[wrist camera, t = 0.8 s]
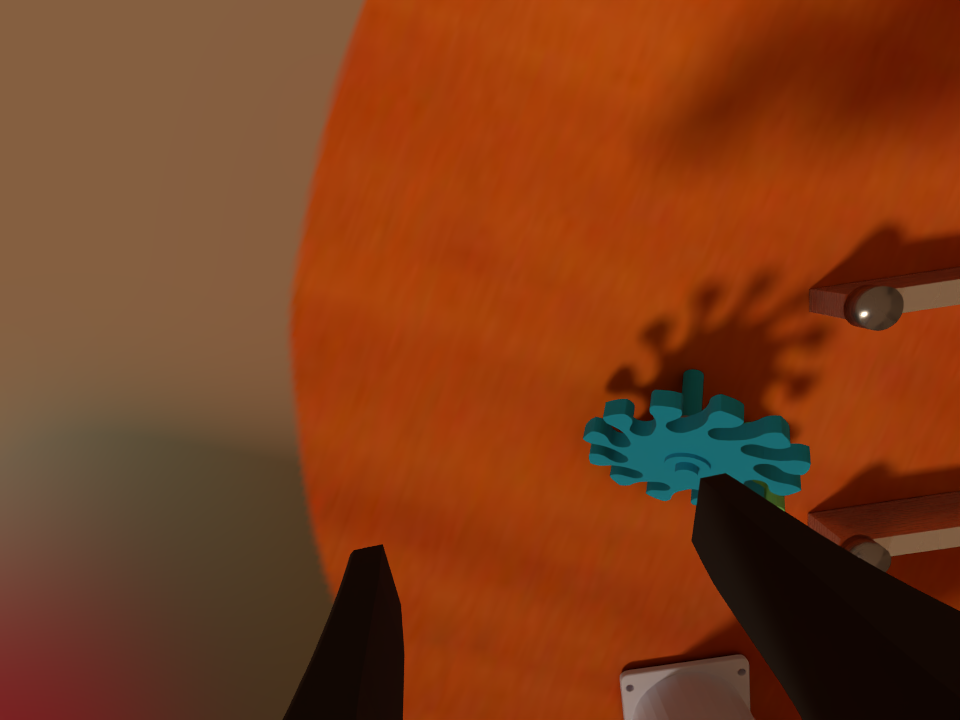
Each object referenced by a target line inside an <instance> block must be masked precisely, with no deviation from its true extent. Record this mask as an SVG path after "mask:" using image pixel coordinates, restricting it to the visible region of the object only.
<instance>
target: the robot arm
mask: <svg viewBox="0 0 960 720" xmlns="http://www.w3.org/2000/svg"><path fill="white" fill-rule="evenodd" d="M692 543H693V545H694V547H695V549H696V551H697V553H698V555H699V557H700V559H701V561H702V563H703V565H704V566H705V568H706V570H707V572H708V574H709V576H710V578H711V580H712V581H713V583H714V585H715V586H716V588H717V590H718V591H719V593H720V594H721V596H722V597H723V599H724V600H725V602H726V603H727V605H728V606H729V608H730V609H731V611H732V612H733V614H734V615H735V617H736V618H737V620H738V621H739V623H740V624H741V625H742V627H743V628H744V630H745V631H746V633H747V634H748V636H749V637H750V639H751V640H752V642H753V643H754V645H755V646H756V648H757V649H758V651H759V652H760V653H761V655H762V656H763V658H764V659H765V661H766V662H767V664H768V665H769V667H770V668H771V670H772V671H773V673H774V674H775V676H776V677H777V679H778V680H779V681H780V683H781V685H782V686H783V688H784V689H785V691H786V692H787V694H788V696H789V697H790V699H791V700H792V702H793V704H794V705H795V707H796V709H797V710H798V712H799V714H800V716H801V717H802V719H803V720H960V611H958V610H956V609H954V608H952V607H950V606H948V605H946V604H944V603H942V602H940V601H939V600H937V599H935V598H933V597H931V596H929V595H927V594H925V593H923V592H921V591H919V590H917V589H915V588H913V587H911V586H909V585H907V584H906V583H904V582H902V581H900V580H898V579H896V578H894V577H893V576H891V575H889V574H887V573H885V572H884V571H882V570H880V569H878V568H877V567H875V566H873V565H871V564H870V563H868V562H866V561H864V560H863V559H861V558H859V557H857V556H856V555H854V554H852V553H851V552H849V551H847V550H846V549H844V548H842V547H841V546H839V545H837V544H836V543H834V542H832V541H831V540H829V539H827V538H826V537H824V536H823V535H821V534H819V533H818V532H816V531H815V530H813V529H811V528H810V527H808V526H807V525H805V524H804V523H802V522H800V521H799V520H797V519H796V518H794V517H793V516H791V515H790V514H788V513H786V512H785V511H783V510H782V509H780V508H779V507H777V506H776V505H774V504H773V503H771V502H770V501H768V500H767V499H765V498H764V497H762V496H760V495H759V494H757V493H756V492H754V491H753V490H751V489H750V488H748V487H747V486H745V485H744V484H742V483H741V482H739V481H738V480H736V479H734V478H733V477H731V476H730V475H728V474H726V473H723V474H718V475H713V476H709V477H704V478H700V484H699V491H698V498H697V505H696V513H695V520H694V527H693V534H692ZM740 669H741V670H740ZM628 685H630V686H628ZM620 686H621V696H622V706H623V716H624V720H755V718H754V717H753V715H752V714H751V712H750V679H749V662H748V660H747V659H746V657H745V656H744V655H731V656H724V657H717V658H710V659H703V660H696V661H689V662H682V663H675V664H668V665H661V666H654V667H647V668H640V669H633V670H627V671H624V672H622V673H621V675H620ZM403 690H404V642H403V627H402V614H401V604H400V600H399V597H398V594H397V590H396V587H395V584H394V580H393V577H392V574H391V570H390V567H389V564H388V560H387V557H386V554H385V550H384V547H383V544H382V545H377V546H372V547H367V548H362V549H358V550H354V551H353V552H352V553H351V555H350V557H349V561H348V564H347V567H346V570H345V573H344V576H343V579H342V582H341V585H340V588H339V591H338V594H337V597H336V599H335V602H334V604H333V607H332V610H331V612H330V615H329V618H328V620H327V623H326V625H325V627H324V630H323V633H322V635H321V637H320V640H319V642H318V644H317V647H316V649H315V652H314V654H313V656H312V658H311V661H310V663H309V665H308V667H307V670H306V672H305V674H304V676H303V678H302V680H301V682H300V684H299V687H298V689H297V691H296V693H295V695H294V697H293V699H292V701H291V704H290V706H289V708H288V710H287V712H286V714H285V716H284V718H283V720H403Z"/></svg>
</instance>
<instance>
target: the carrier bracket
mask: <svg viewBox="0 0 960 720" xmlns="http://www.w3.org/2000/svg"><path fill="white" fill-rule="evenodd" d="M958 304H960V267H956V268H949V269H943V270H936V271H929V272H922V273H916V274H909V275H902V276H896V277H889V278H882V279H875V280H869V281H862V282H855V283H849V284H842V285H835V286H829V287H822V288H815V289H809V312H813V313H818V314H823V315H828V316H833V317H838V318H842V319H846V320H847V321H848V322H849V323H850V324H851V325H853V326H857V327H861V328H866V329H870V330H877V331H879V330H884V329H887V328H889V327H891V326H892V325H894V324H895V323H896V322H897V321H898V319H899V318H900V316H901V314H902V313H904V312H911V311H918V310H925V309H931V308H938V307H945V306H951V305H958ZM808 527H810V528H811V529H813V530H815V531H816V532H818V533H819V534H821V535H823V536H824V537H826V538H827V539H829V540H831V541H832V542H834V543H836V544H837V545H839V546H841V547H842V548H844V549H846V550H847V551H849V552H851V553H852V554H854V555H856V556H857V557H859V558H861V559H863V560H864V561H866V562H868V563H870V564H871V565H873V566H875V567H877V568H878V569H880V570H882V571H884V572H886V571H887V570H888V568H889V567H890V564H891V556H896V555H903V554H910V553H917V552H924V551H931V550H938V549H945V548H952V547H959V546H960V491H958V492H951V493H944V494H937V495H930V496H924V497H917V498H910V499H903V500H896V501H889V502H882V503H875V504H868V505H862V506H855V507H848V508H841V509H834V510H827V511H820V512H813V513H808Z"/></svg>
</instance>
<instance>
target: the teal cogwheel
mask: <svg viewBox="0 0 960 720" xmlns="http://www.w3.org/2000/svg"><path fill="white" fill-rule="evenodd" d="M703 382H704V374H703V373H702V372H701V371H699V370H695V369H691V370H687V371H685V372H684V374H683V385H682V393H679V392H675V391H668V390H654V391H653V392H652V394H651V402H650V413H651V414H652V415H653V417H654V419H653V420H651V421H640V420H637V419H635V418H634V417H633V415H634V408H635V406H634V404H633V402H631V401H630V400H628V399H617V400H613V401H609V402H606V405H605V410H604V415H603V419H602V418H599V417H595V418H593V419H591V420H590V421H589V422H588V423H587V424H586V427H585V431H584V436H583V439H584V440H585V441H587V442H589V443H591V449H590V454H589V460H590V463H592V464H595V465H600V466H604V465H612V466H611V472H610V477H611V478H612V479H613V480H614V481H615V482H616V483H618V484H619V485H631V484H633V483H636V482H645V481H648V482H647V490H646V494H648V495H650V496H652V497H654V498H657V499H659V500H662V501H667V500H670V499H671V496H672V495H673V494H674V493H676V492H678V491H682V490H687V489H692V492H691V503H692V504H693V505H697V498H698V491H699V484H700V478H704V477H709V476H713V475H718V474H723V473H726V474H728V475H730V476H731V477H733V478H734V479H736V480H738V481H739V482H741V483H742V484H744V485H745V486H747V487H748V488H750V489H751V490H753V491H754V492H756V493H757V494H759V495H760V496H762V497H764V498H765V499H767V500H768V501H770V502H771V503H773V504H774V505H776V506H777V507H779V508H780V509H782V510H783V511H785V501H784V496H785V495H790V494H793V493H796V492H798V491H801V480H800V475H803V474H805V473H806V472H807V471H808V470H809V468H810V464H811V462H810V449H809V446H806V445H803V444H790V428H789V425H788V423H787V422H786V420H785V419H784V418H783V417H782V416H777V415H774V416H766V417H763V418H761V419H759V420H756V421H753V422H744V404H743V403H741V402H740V401H738V400H736V399H734V398H731V397H729V396H726V395H723V394H719V395H715V396H713V397H712V398H711V399H710V401H709V404H708V405H707V407H706V408H705V409H704V410H702V399H703ZM743 422H744V423H743ZM611 426H614V427H616V428H617V429H619V430H621V431H622V432H623V433H620V432H617V431H615V430H614V429H613V428H612V427H611Z"/></svg>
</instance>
